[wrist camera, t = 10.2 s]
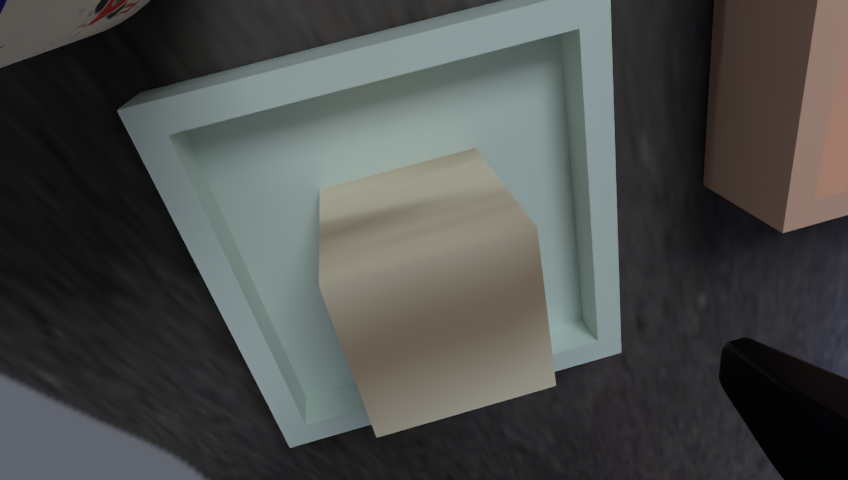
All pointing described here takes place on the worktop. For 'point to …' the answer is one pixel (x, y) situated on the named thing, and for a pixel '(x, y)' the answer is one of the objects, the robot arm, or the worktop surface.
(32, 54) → the teacup with lid
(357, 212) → the birch block
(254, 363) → the tray
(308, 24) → the worktop surface
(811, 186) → the dish
